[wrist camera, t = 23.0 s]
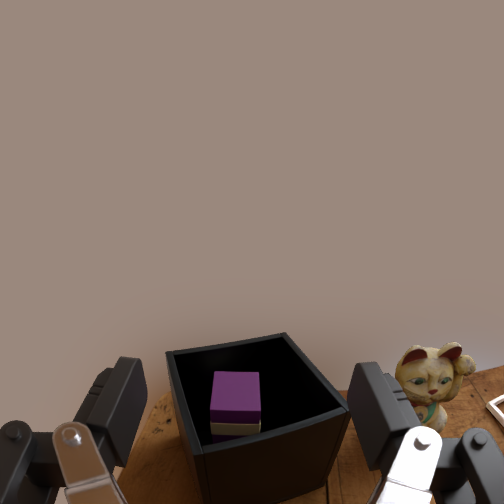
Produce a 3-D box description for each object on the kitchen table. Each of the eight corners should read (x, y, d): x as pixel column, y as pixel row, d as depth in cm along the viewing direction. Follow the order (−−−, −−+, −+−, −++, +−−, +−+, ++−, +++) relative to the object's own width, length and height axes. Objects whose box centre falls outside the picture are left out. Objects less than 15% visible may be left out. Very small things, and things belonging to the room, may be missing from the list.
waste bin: (207, 521, 21) (193, 455, 17) (179, 434, 32) (165, 351, 28) (324, 486, 25) (354, 408, 21) (276, 414, 36) (285, 331, 32)
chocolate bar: (256, 477, 26) (261, 411, 23) (215, 476, 26) (208, 409, 22) (255, 442, 31) (259, 371, 27) (218, 441, 31) (214, 370, 27)
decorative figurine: (367, 462, 28) (411, 362, 23) (358, 414, 35) (386, 316, 31) (439, 452, 27) (493, 355, 22) (422, 409, 35) (459, 315, 30)
